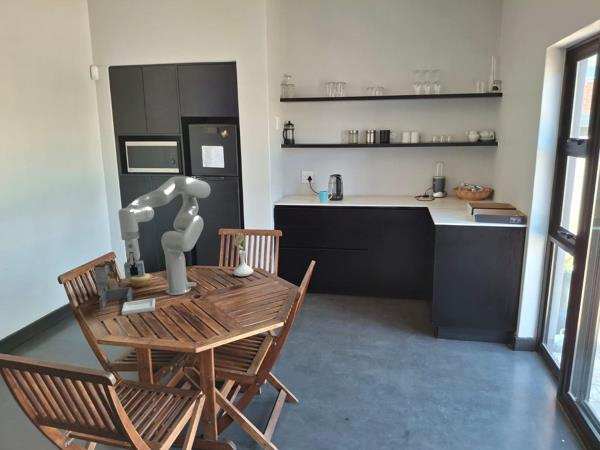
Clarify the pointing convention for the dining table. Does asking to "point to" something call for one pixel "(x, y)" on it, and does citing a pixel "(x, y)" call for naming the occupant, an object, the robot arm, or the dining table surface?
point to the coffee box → (106, 276)
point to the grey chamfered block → (139, 265)
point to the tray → (138, 306)
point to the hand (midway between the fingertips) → (135, 273)
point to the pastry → (141, 280)
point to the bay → (115, 295)
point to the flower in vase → (242, 268)
